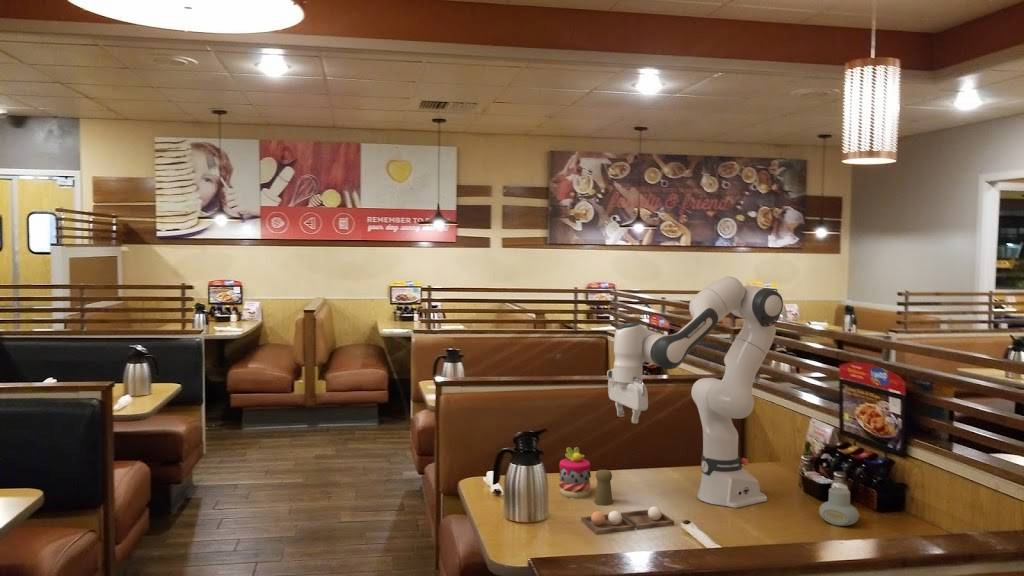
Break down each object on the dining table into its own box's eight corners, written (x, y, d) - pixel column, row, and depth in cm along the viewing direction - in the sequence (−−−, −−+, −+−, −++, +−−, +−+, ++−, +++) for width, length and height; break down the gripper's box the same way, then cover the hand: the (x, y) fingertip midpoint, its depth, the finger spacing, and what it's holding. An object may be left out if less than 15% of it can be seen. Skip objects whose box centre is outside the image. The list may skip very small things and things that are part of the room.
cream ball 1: (618, 521, 215) (618, 508, 215) (624, 526, 212) (624, 512, 212) (605, 522, 214) (605, 509, 214) (611, 527, 210) (611, 514, 210)
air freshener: (815, 522, 218) (816, 489, 217) (823, 514, 224) (824, 483, 224) (854, 531, 211) (855, 497, 210) (861, 523, 217) (862, 490, 217)
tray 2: (655, 514, 223) (655, 508, 223) (674, 527, 213) (674, 521, 213) (620, 518, 220) (620, 512, 220) (637, 531, 209) (637, 525, 209)
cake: (596, 495, 241) (597, 450, 240) (572, 501, 235) (572, 455, 234) (576, 487, 249) (577, 444, 249) (552, 492, 243) (552, 448, 243)
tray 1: (617, 518, 219) (617, 512, 219) (634, 532, 209) (634, 525, 209) (580, 522, 216) (580, 517, 216) (596, 536, 205) (596, 530, 205)
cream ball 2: (657, 516, 219) (657, 503, 219) (663, 521, 216) (664, 508, 216) (645, 518, 218) (645, 505, 218) (651, 522, 214) (652, 509, 214)
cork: (612, 508, 229) (612, 473, 228) (593, 506, 230) (593, 472, 229) (613, 501, 234) (614, 468, 234) (594, 500, 236) (595, 467, 235)
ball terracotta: (602, 526, 214) (600, 512, 215) (608, 523, 210) (605, 509, 212) (590, 527, 213) (588, 513, 214) (595, 524, 209) (593, 510, 211)
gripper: (653, 380, 215) (653, 426, 215) (622, 369, 234) (622, 412, 235) (634, 381, 213) (634, 427, 214) (604, 370, 232) (604, 413, 233)
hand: (627, 419), depth 224 cm, fingers open, 8 cm apart
